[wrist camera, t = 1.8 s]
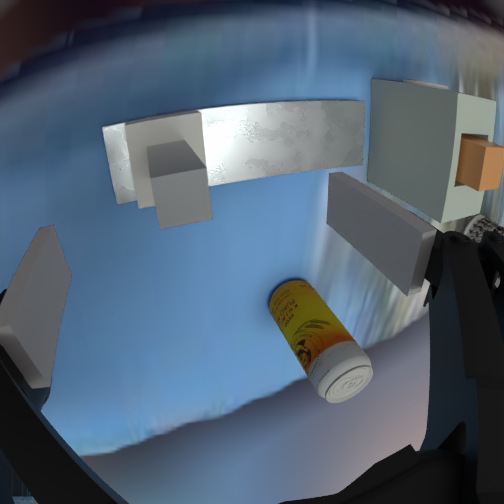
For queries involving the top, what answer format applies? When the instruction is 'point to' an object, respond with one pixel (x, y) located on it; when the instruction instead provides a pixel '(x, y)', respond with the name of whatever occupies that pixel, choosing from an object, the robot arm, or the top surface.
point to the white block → (425, 144)
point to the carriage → (170, 167)
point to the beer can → (320, 342)
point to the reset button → (479, 163)
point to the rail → (259, 140)
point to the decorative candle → (481, 228)
